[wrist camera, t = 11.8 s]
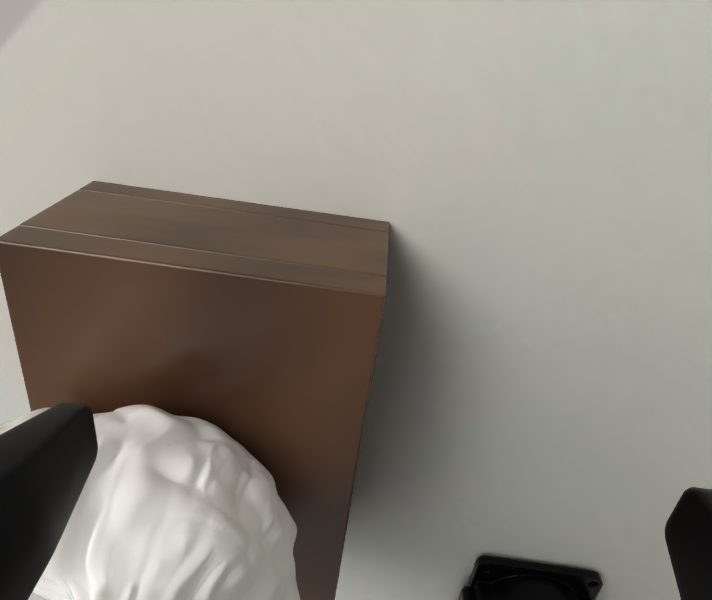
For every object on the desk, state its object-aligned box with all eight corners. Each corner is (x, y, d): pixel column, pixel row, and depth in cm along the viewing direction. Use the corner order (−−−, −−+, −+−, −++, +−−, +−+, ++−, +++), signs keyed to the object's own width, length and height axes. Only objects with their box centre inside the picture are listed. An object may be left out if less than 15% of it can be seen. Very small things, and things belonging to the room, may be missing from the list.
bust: (326, 508, 22) (510, 709, 12) (194, 673, 21) (279, 1075, 10) (94, 309, 18) (76, 358, 8) (-97, 489, 17) (-431, 845, 6)
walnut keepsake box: (389, 221, 20) (386, 295, 15) (344, 502, 27) (332, 614, 22) (93, 180, 20) (-9, 239, 15) (127, 471, 27) (66, 576, 22)
